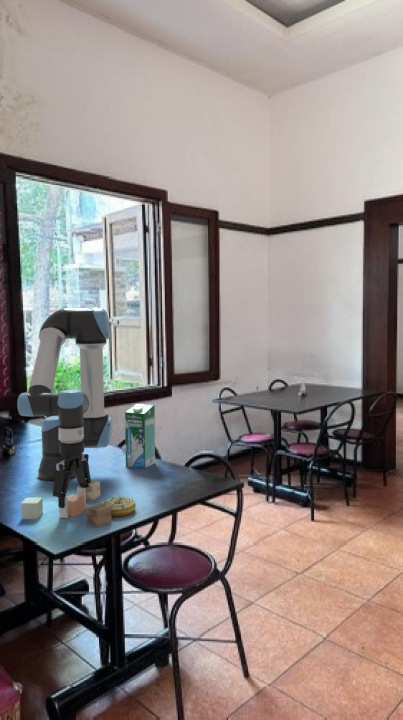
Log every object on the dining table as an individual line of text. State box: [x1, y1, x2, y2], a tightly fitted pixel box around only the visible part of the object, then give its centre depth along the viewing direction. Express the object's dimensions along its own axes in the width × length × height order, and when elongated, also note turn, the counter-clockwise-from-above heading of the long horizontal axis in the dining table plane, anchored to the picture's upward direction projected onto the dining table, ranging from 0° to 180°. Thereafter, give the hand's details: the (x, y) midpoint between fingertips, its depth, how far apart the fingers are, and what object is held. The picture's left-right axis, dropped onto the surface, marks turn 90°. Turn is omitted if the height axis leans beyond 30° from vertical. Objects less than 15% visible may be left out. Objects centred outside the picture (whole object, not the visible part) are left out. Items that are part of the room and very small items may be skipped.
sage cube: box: [20, 497, 44, 520], centre depth 157 cm, size 5×5×5 cm
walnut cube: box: [86, 502, 112, 528], centre depth 152 cm, size 5×5×5 cm
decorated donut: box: [101, 496, 137, 518], centre depth 161 cm, size 10×11×4 cm
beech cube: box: [86, 480, 101, 501], centre depth 174 cm, size 5×5×5 cm
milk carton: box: [124, 403, 156, 470], centre depth 212 cm, size 9×9×25 cm
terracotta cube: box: [66, 494, 86, 518], centre depth 159 cm, size 5×5×5 cm
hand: (73, 512), depth 160 cm, fingers open, 8 cm apart
